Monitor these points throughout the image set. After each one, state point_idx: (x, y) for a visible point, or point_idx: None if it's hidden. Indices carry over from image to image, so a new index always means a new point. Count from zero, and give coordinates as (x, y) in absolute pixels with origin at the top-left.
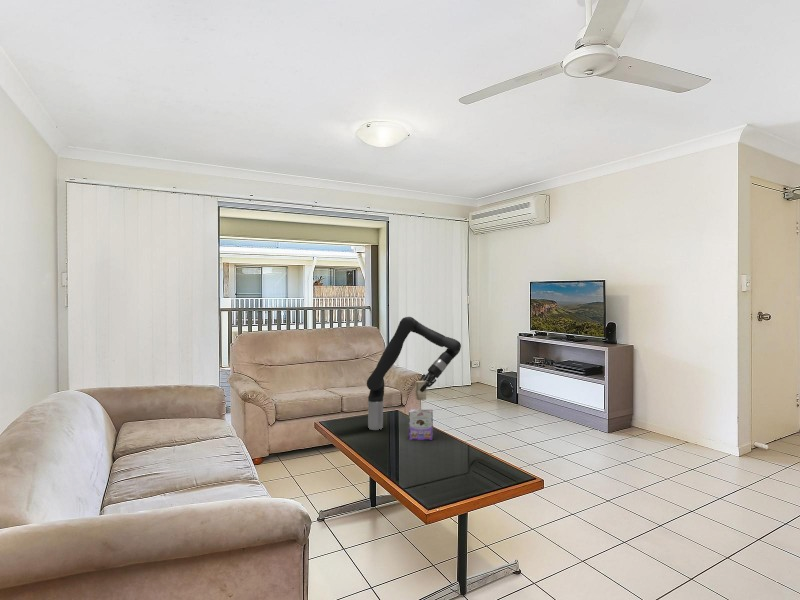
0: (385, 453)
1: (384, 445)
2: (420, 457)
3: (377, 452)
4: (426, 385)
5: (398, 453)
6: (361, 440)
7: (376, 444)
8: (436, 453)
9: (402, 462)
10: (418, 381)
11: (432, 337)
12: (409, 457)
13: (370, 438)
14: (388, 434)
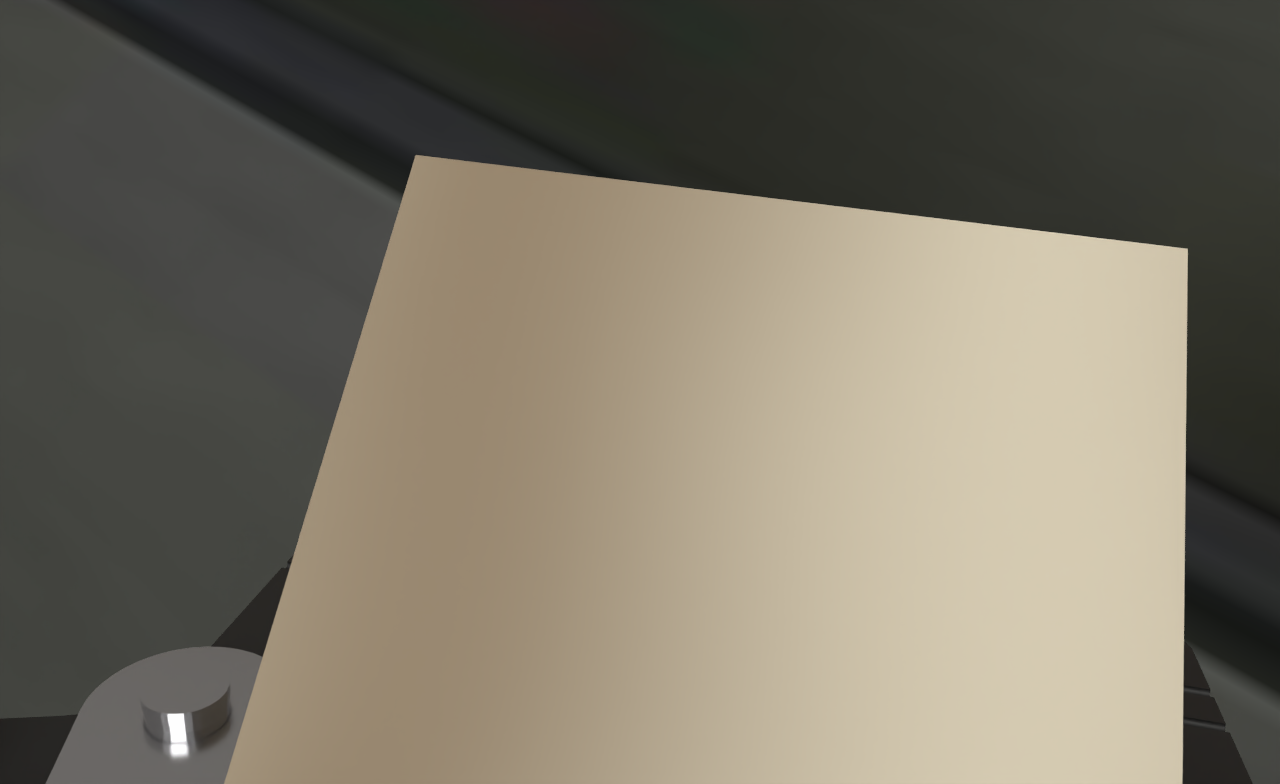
0: (482, 64)
1: (754, 181)
2: (94, 326)
3: (569, 9)
4: (19, 740)
5: (384, 182)
6: (1110, 33)
7: (849, 117)
8: (46, 591)
9: (125, 84)
10: (969, 450)
11: None
12: (188, 219)
13: (1145, 161)
14: (1231, 476)
